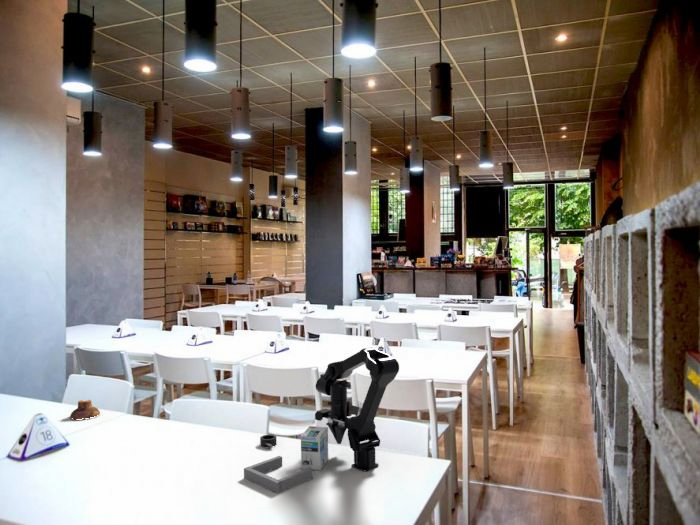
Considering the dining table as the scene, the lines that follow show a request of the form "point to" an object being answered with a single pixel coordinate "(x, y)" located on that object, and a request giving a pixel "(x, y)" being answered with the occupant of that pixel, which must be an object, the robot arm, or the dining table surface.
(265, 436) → the duct tape
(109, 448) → the dining table surface
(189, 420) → the dining table surface
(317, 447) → the light bulb box
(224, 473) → the dining table surface
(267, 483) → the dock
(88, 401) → the brown fuzzy lump
